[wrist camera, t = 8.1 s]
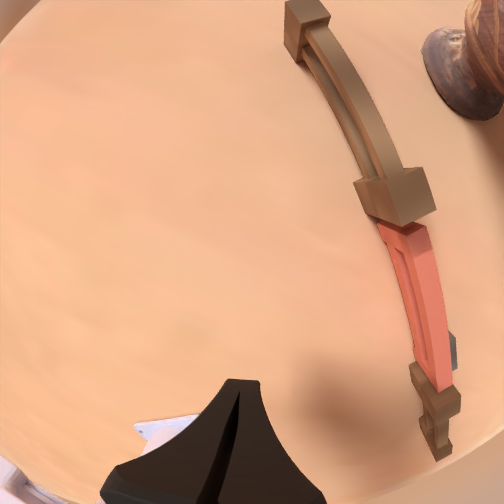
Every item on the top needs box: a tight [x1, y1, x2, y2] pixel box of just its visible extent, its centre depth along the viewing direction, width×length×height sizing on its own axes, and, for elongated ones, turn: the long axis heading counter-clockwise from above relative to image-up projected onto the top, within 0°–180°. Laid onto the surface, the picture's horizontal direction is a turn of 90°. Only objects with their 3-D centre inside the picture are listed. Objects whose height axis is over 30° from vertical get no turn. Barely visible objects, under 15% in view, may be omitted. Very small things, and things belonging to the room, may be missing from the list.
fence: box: [284, 0, 461, 462], centre depth 14 cm, size 34×3×6 cm, turn 25°
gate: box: [377, 220, 453, 393], centre depth 15 cm, size 11×1×4 cm, turn 26°
